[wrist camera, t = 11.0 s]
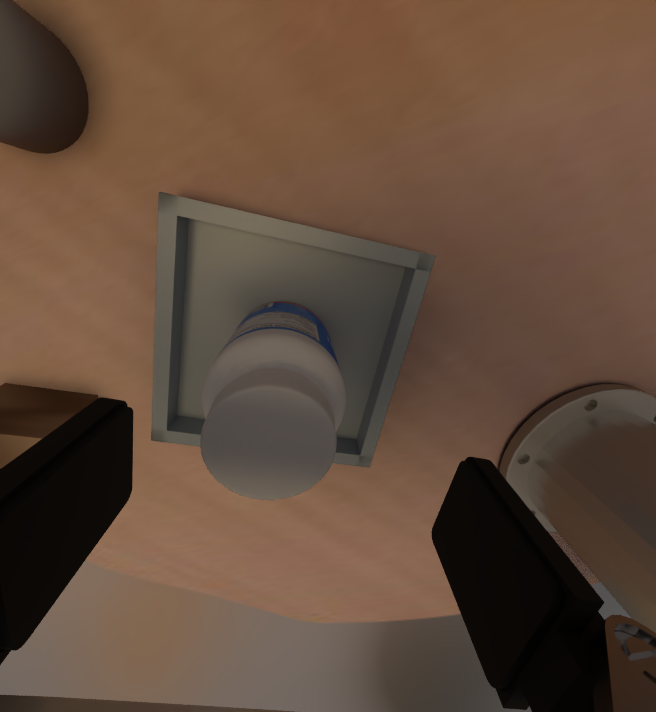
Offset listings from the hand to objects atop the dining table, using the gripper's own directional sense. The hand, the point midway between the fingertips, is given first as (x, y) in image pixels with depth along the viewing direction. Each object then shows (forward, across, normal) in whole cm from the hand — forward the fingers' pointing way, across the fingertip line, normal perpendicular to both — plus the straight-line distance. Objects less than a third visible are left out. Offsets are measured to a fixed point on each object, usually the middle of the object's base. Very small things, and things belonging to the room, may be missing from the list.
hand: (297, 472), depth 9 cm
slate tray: (+11, +1, 0) cm, 11 cm away
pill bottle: (+10, +1, 0) cm, 10 cm away
